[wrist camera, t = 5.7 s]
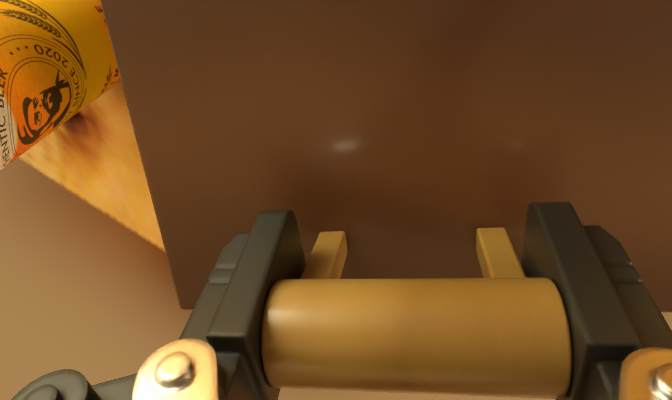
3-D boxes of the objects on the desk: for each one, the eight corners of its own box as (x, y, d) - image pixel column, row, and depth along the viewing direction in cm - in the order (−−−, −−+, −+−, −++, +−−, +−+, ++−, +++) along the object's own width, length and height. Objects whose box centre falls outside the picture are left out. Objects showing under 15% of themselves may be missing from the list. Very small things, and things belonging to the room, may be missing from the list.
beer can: (160, 79, 27) (-39, 253, 15) (57, 48, 26) (-233, 201, 14) (163, -31, 23) (-97, 82, 11) (44, -68, 23) (-358, 7, 11)
